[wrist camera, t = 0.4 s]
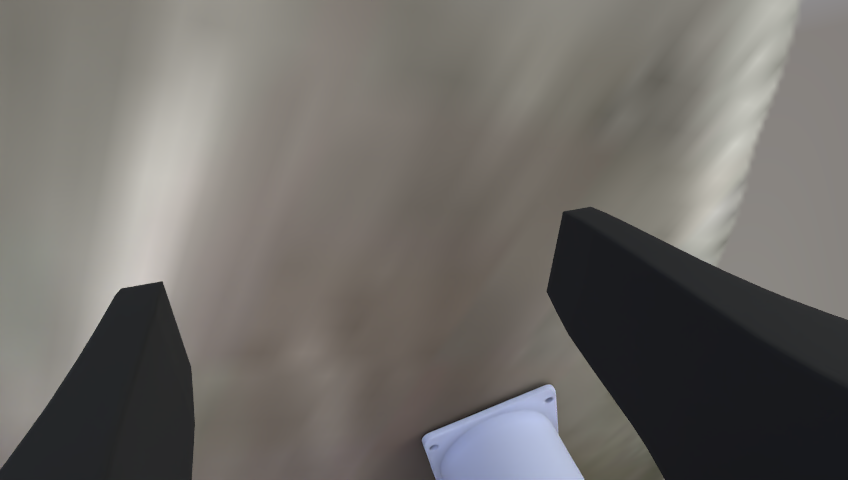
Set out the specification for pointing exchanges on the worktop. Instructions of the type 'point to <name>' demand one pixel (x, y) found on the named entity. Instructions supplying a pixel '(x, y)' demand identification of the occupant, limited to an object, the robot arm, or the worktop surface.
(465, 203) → the worktop surface
